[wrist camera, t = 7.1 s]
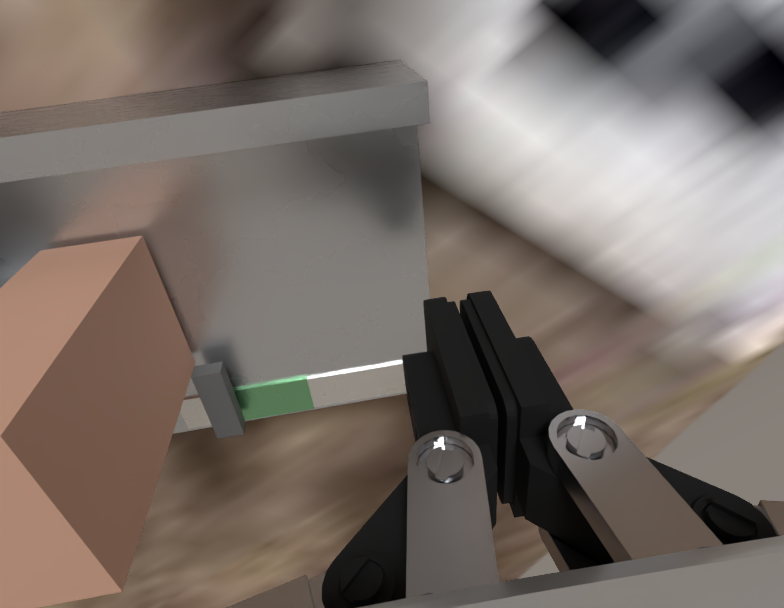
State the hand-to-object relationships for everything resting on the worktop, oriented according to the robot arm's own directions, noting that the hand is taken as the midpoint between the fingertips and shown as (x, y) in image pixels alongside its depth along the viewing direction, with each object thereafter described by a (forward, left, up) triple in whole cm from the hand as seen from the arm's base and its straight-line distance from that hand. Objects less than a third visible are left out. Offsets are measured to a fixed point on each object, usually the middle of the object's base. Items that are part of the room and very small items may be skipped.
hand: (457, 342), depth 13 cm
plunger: (+15, +2, -5) cm, 16 cm away
